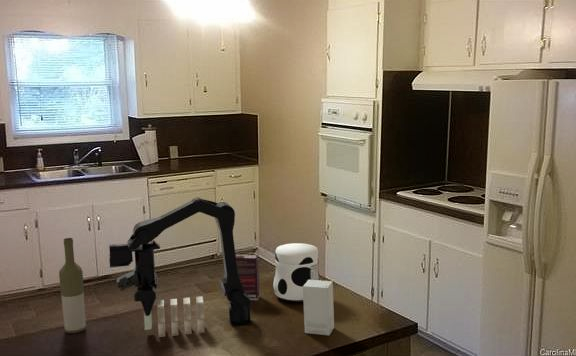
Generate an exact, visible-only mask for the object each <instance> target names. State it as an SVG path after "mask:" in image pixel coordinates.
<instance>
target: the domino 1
mask: <svg viewBox="0 0 576 356" xmlns="http://www.w3.org/2000/svg"><path fill="white" fill-rule="evenodd" d="M143 320H144V321H143V322H144V331H147V330H152V329H153V315H152V312H151V313H150V315H149V316H146V315H145V312H144V311H143Z"/></svg>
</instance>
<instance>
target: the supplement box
mask: <svg viewBox="0 0 576 356" xmlns="http://www.w3.org/2000/svg"><path fill="white" fill-rule="evenodd" d="M235 255H236V263H237V271H238V275H239V278H240V281H241V283H242V286H243V290H244V291H245V292H246V294H247V295H248V297H249V298H250V299H251V301H258V300H259V298H260V272H259V271H260V270H259V268H260V267H259V254H237V253H235Z"/></svg>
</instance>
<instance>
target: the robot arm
mask: <svg viewBox="0 0 576 356" xmlns="http://www.w3.org/2000/svg"><path fill="white" fill-rule="evenodd" d="M198 213H200V214H204V215H207V216H210V217H212V218H214V220H215V223H216V225H217V228H218V230H219V235H220V245H221V252H222V261H223V268H224V275H223V277H221V278H219V281H220V282H219V283H220V285H221V286H220V291H221V293H222V294H223V296H224V297H226V299H227V300H228V301H229V306H228V309H227V311H228V322H229V323H230V324H231V326H232V327H235V326H244V325H251V324H252V320H251V304H252V301H253V300H251V299H250V298H249V297H248V295H247V294H246V292H245V291H244V290H243V286H242V283H241V281H240V278H239V275H238V271H237V263H236V249H235V248H236V247H235V240H234V239H235V238H234V226H235V221H236V220H235V219H236V217H235V216H236V212H235V209H234V208H233V207H232V205H230V204H229V203H228V202H225V201H219V202H216V201H213V200H208V199H204V198H201V197H194V198H192V199H191V200H189V201H188V202H186V203H184V204H181V205H180V206H178V207H175V208H174V209H172V210H169V211H168V212H167V213H164V214H162V215H161V216H158V217H153V218H149V219H145V220H143V221H139V222H137V223H135V225H134V227H133V229H132V234H131V236H130V238H129V239H128V240H127V242H126V243H121V244H119V243H118V244H109V246H108V247H109V255H108V256H109V257H108V259H109V260H108V261H109V269H111V268H121V267H128V266H130V265H131V264H132V263H133V262H134V264H135V265H134V270H132V271H130V272H126V273H125V274H123V275H122V274H121V275H120V276H119V277H117V279H116V285H117V288H119V290H120V292H123V291H125V290H126V289H128V288H130V287H133V286H134V287H135V288H136V289H135V290H134V293H133V295H134V297H133V299H134V302H136V303H137V302H140V303H141V305H142V308H143V313H144V312H145V315H146V316H149V315H150V313H151V314H152V310H153V307H154V304H155V301H156V300H157V287H158V273H157V272H156V264H155V262H156V261H155V250H160V249H161V246H160V243H158V242H157V241H156V240H155V239H156V238H158V237H159V236H160V235H161V234H162V233H163V232H164V231H166V230H167V229H169V228H171V227H173V226H175V225H176V224H178V223H180V222H182V221H184V220H186V219H189V218H190V217H191V216H194V215H196V214H198ZM133 252H134V258H133ZM133 259H134V260H133Z"/></svg>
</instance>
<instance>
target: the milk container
mask: <svg viewBox="0 0 576 356" xmlns="http://www.w3.org/2000/svg"><path fill="white" fill-rule="evenodd" d="M274 258H275V259H274V260H275V262H274V263H275V264H274V265H275V274H274V278H273V282H272V283H273V285H272V286H273V292H274V294H275V295H276V297H277V298H279V299H281V300H283V301H286V302H295V303H298V302H299V303H300V302H303V286H304V285H305V283H306V282H307V281H308V280H321V277H320V273H319V250H318V247H317V246H315V245H313V244H309V243H300V242H299V243H298V242H297V243H296V242H295V243H293V242H292V243H285V244H281V245H278V246H277V247H276V249H275V254H274ZM303 303H304V302H303Z"/></svg>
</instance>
